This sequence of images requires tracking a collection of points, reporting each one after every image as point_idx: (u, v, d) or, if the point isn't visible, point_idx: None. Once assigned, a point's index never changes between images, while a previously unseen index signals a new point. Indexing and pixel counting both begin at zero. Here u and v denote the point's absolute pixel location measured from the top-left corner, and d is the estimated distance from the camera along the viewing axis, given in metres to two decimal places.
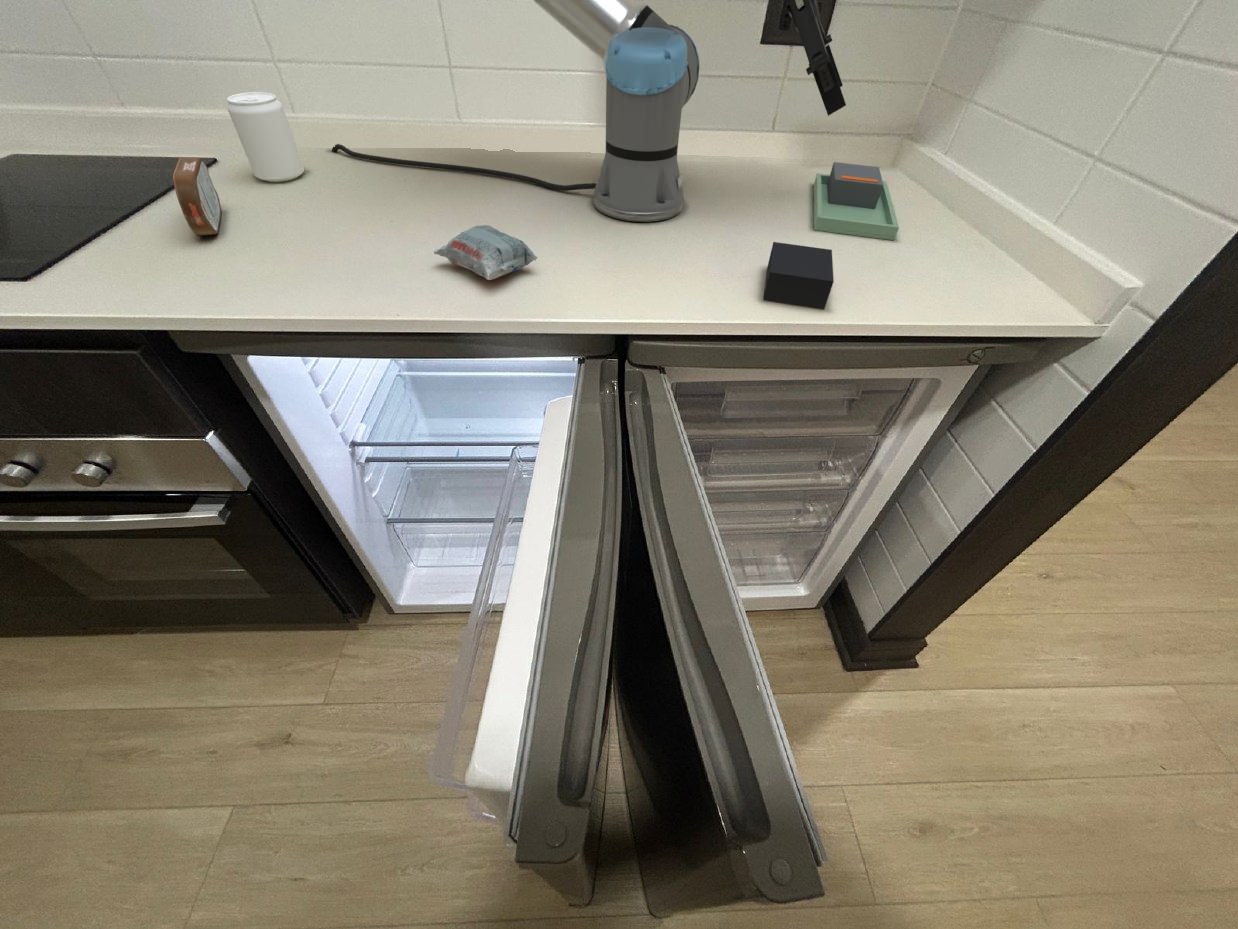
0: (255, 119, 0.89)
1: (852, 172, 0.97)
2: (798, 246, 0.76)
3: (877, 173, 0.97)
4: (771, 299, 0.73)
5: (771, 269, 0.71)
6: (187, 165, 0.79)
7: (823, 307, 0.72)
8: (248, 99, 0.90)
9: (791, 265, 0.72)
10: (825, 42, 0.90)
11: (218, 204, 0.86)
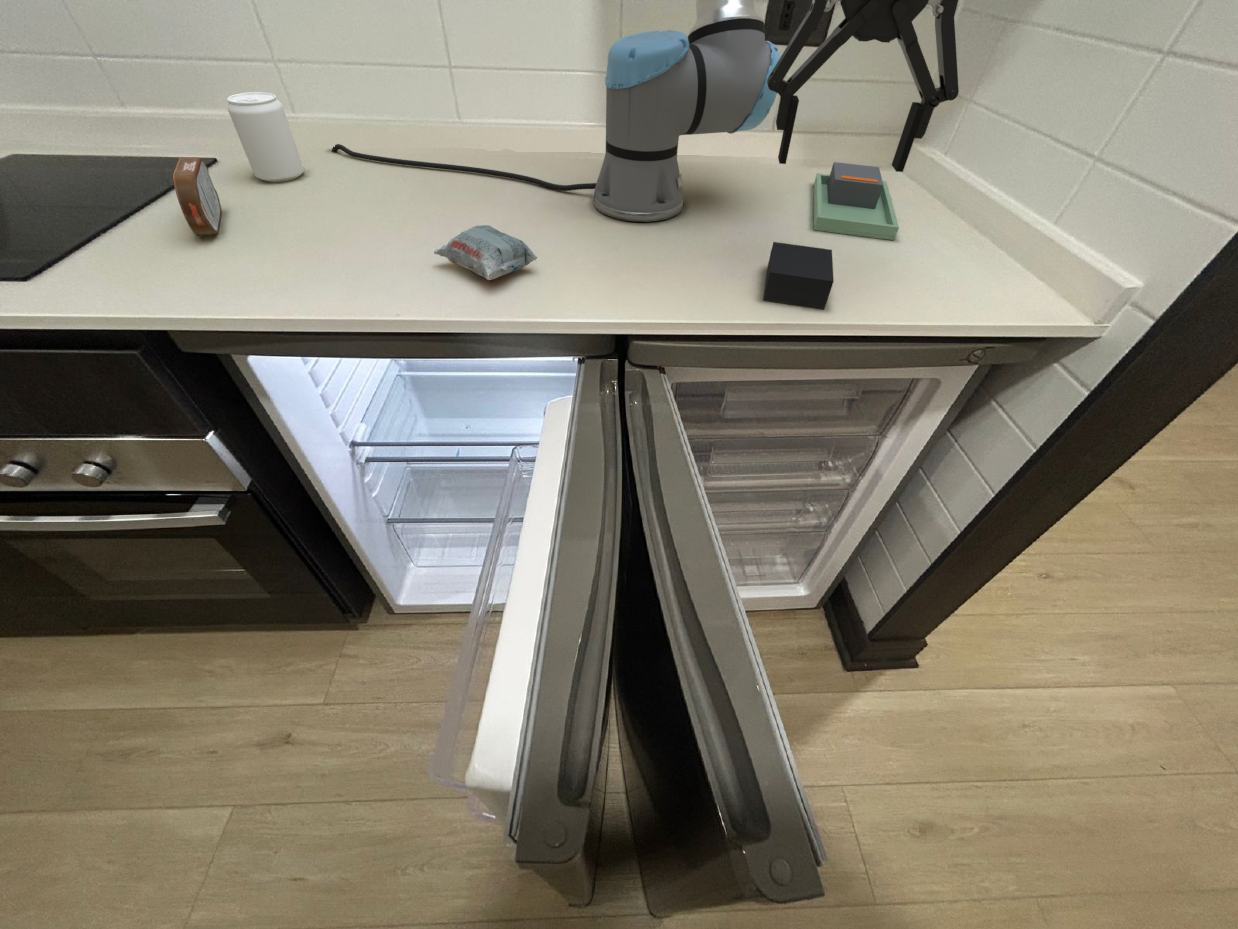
0: (255, 119, 0.89)
1: (852, 172, 0.97)
2: (798, 246, 0.76)
3: (877, 173, 0.97)
4: (771, 299, 0.73)
5: (771, 269, 0.71)
6: (188, 165, 0.79)
7: (823, 307, 0.72)
8: (248, 99, 0.90)
9: (791, 265, 0.72)
10: (924, 101, 0.60)
11: (218, 204, 0.86)
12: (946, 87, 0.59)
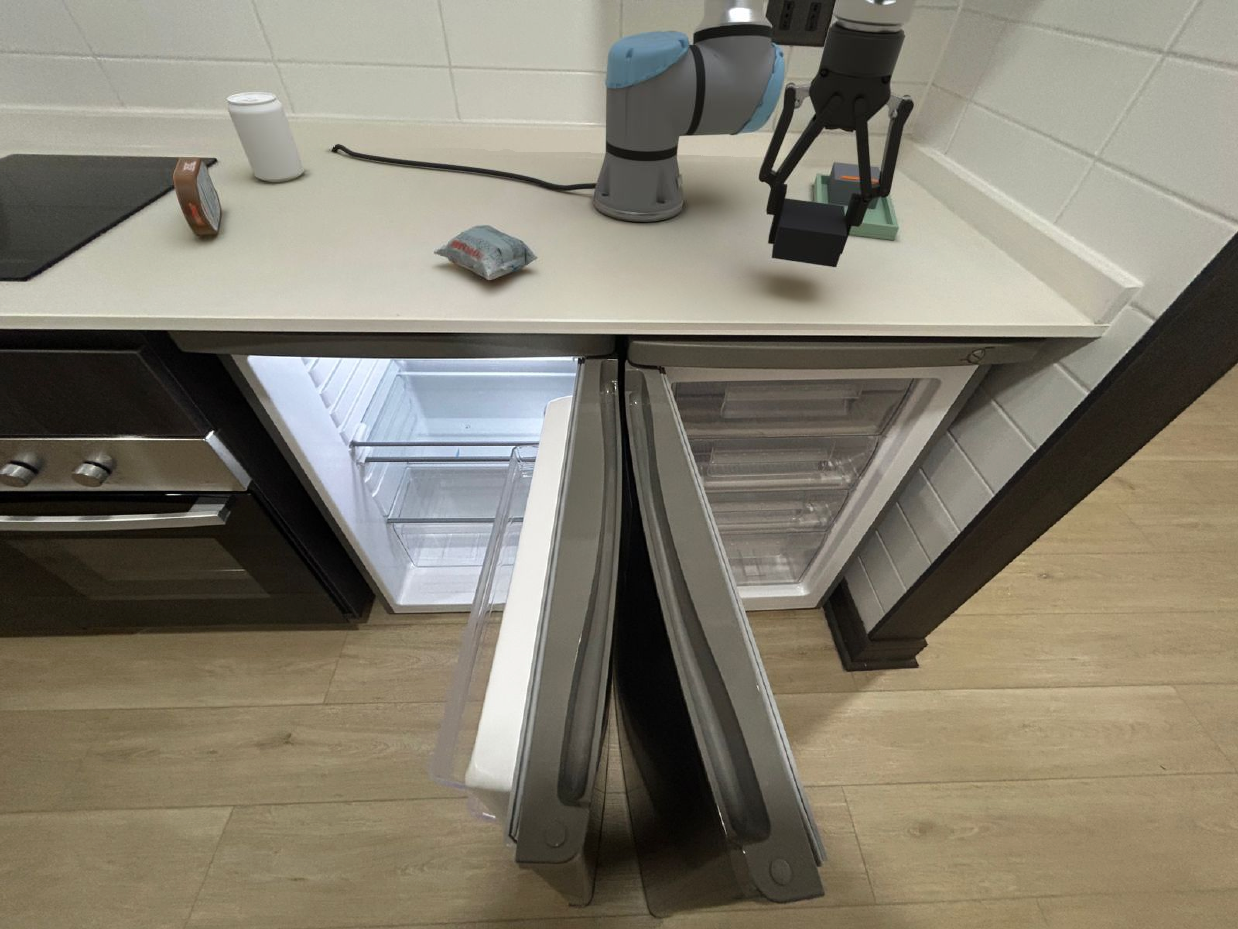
0: (255, 119, 0.89)
1: (852, 172, 0.97)
2: (808, 202, 0.72)
3: (877, 173, 0.97)
4: (780, 256, 0.69)
5: (781, 223, 0.67)
6: (187, 165, 0.79)
7: (835, 265, 0.68)
8: (248, 99, 0.90)
9: (801, 220, 0.68)
10: (860, 194, 0.66)
11: (218, 204, 0.86)
12: (881, 184, 0.64)
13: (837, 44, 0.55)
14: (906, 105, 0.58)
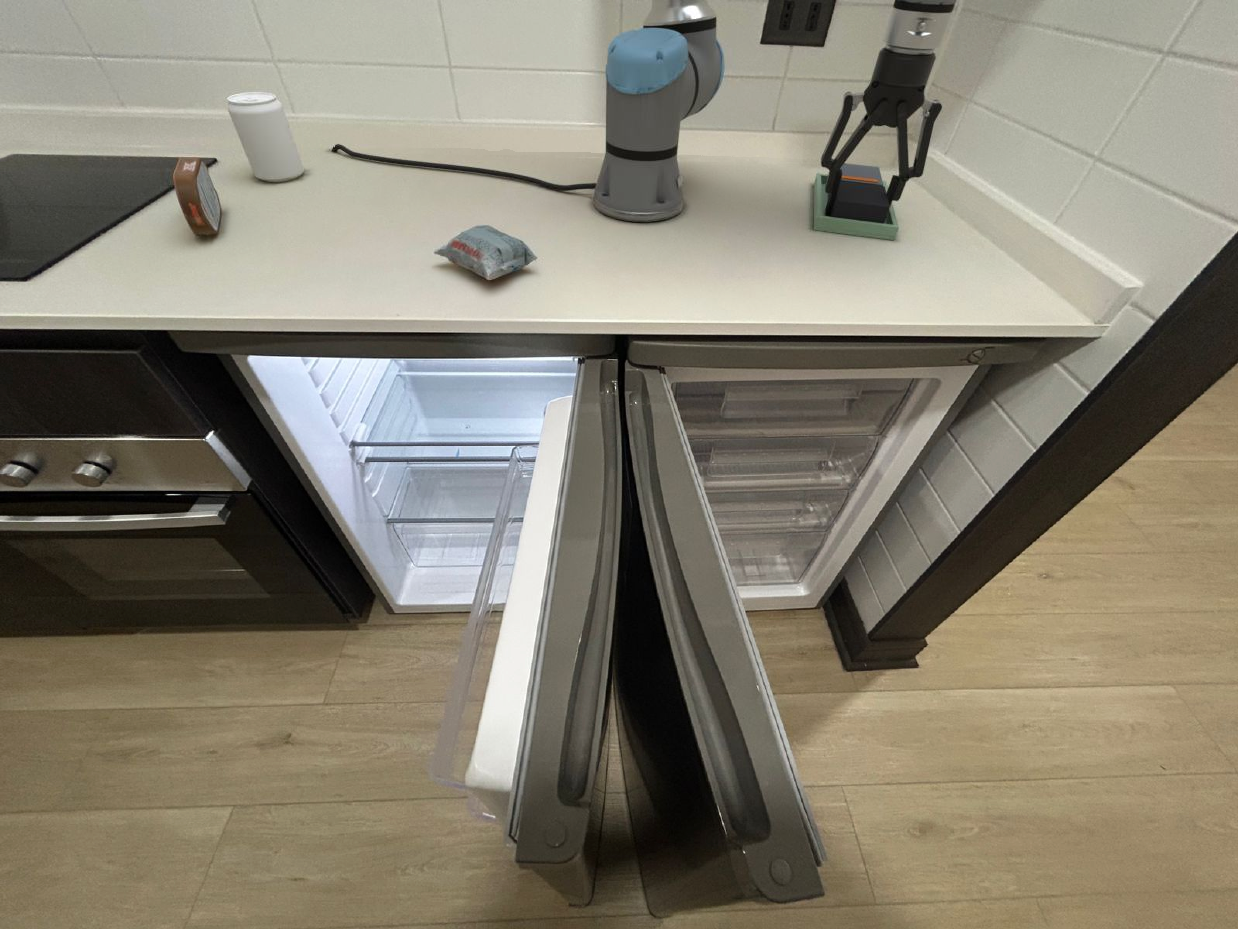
0: (255, 119, 0.89)
1: (852, 172, 0.97)
2: (857, 183, 0.93)
3: (877, 173, 0.97)
4: None
5: (838, 198, 0.88)
6: (188, 165, 0.79)
7: None
8: (248, 99, 0.90)
9: (853, 196, 0.89)
10: (900, 175, 0.86)
11: (218, 204, 0.86)
12: (916, 167, 0.85)
13: (886, 63, 0.76)
14: (936, 107, 0.79)
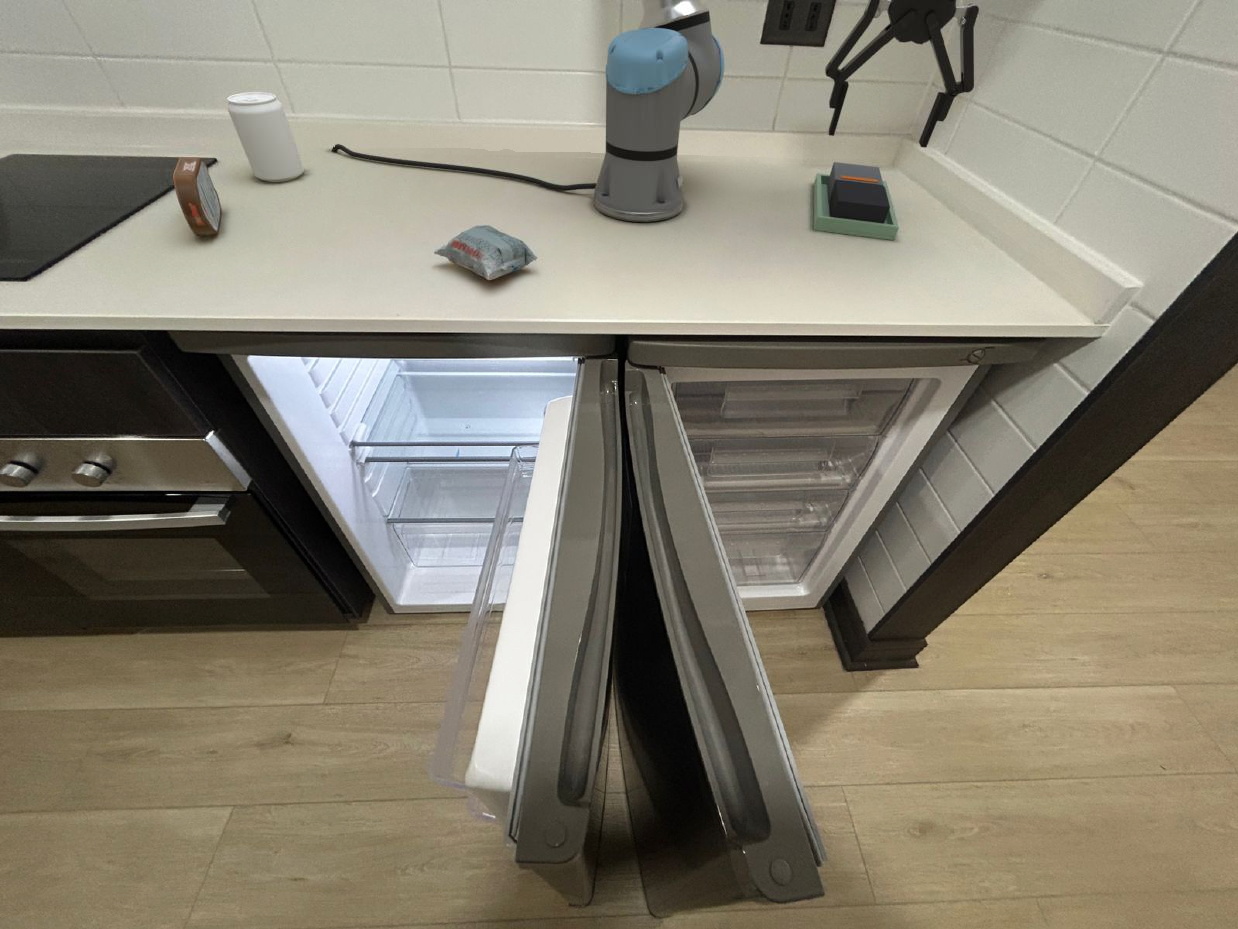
0: (255, 119, 0.89)
1: (852, 172, 0.97)
2: (857, 183, 0.93)
3: (877, 173, 0.97)
4: None
5: (838, 198, 0.88)
6: (188, 165, 0.79)
7: None
8: (248, 99, 0.90)
9: (853, 196, 0.89)
10: (947, 91, 0.78)
11: (218, 204, 0.86)
12: (964, 81, 0.77)
13: None
14: (972, 10, 0.71)
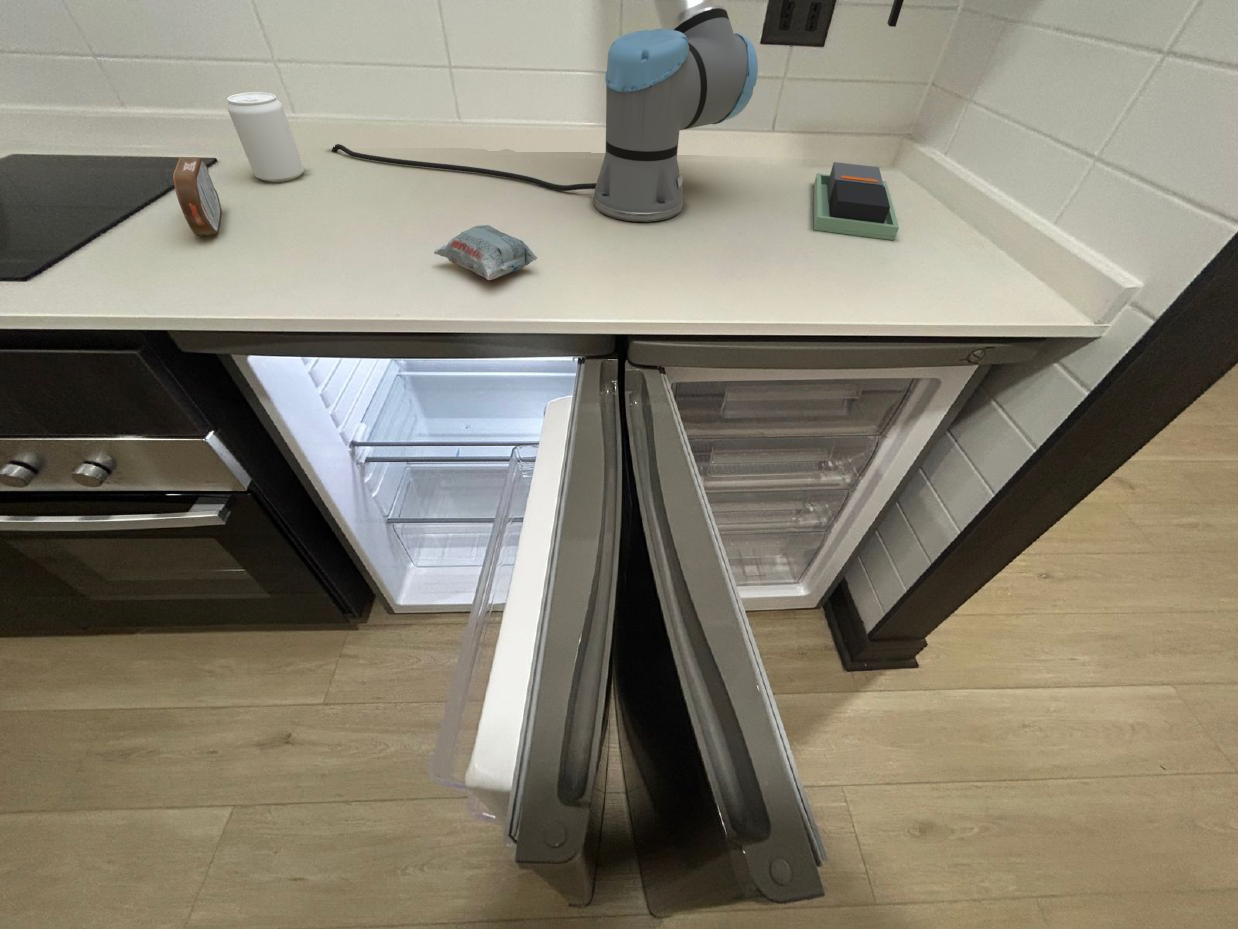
0: (255, 119, 0.89)
1: (852, 172, 0.97)
2: (857, 183, 0.93)
3: (877, 173, 0.97)
4: None
5: (838, 198, 0.88)
6: (188, 165, 0.79)
7: None
8: (248, 99, 0.90)
9: (853, 196, 0.89)
10: None
11: (218, 204, 0.86)
12: None
13: None
14: None
